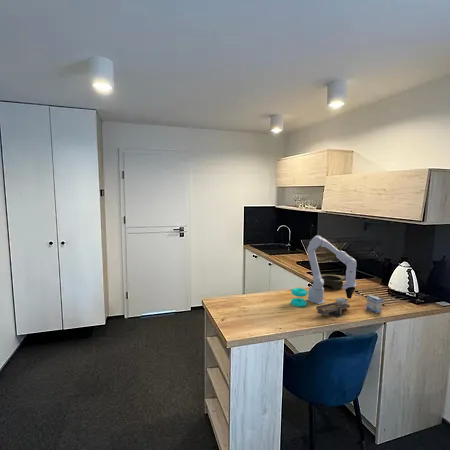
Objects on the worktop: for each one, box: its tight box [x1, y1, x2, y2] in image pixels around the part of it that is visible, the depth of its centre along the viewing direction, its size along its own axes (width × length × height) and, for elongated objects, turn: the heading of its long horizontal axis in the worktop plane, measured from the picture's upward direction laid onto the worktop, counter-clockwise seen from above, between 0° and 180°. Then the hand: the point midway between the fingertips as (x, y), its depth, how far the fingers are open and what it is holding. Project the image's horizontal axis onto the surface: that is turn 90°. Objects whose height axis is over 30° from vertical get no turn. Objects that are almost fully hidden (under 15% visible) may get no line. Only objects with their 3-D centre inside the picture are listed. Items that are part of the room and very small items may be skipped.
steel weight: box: [334, 297, 349, 306], centre depth 190 cm, size 4×7×4 cm, turn 129°
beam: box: [315, 301, 351, 317], centre depth 185 cm, size 7×26×4 cm, turn 129°
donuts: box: [290, 287, 308, 308], centre depth 197 cm, size 10×10×10 cm
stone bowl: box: [321, 274, 346, 290], centre depth 239 cm, size 25×25×9 cm
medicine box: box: [365, 294, 384, 314], centre depth 190 cm, size 8×4×9 cm, turn 24°
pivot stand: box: [328, 308, 348, 318], centre depth 187 cm, size 11×16×4 cm
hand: (349, 298), depth 196 cm, fingers closed
